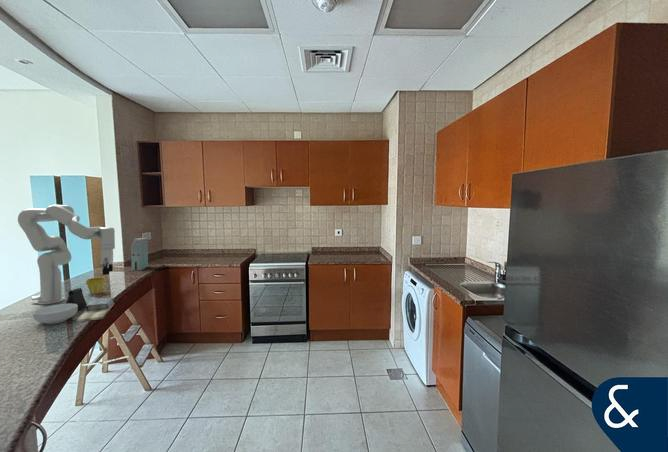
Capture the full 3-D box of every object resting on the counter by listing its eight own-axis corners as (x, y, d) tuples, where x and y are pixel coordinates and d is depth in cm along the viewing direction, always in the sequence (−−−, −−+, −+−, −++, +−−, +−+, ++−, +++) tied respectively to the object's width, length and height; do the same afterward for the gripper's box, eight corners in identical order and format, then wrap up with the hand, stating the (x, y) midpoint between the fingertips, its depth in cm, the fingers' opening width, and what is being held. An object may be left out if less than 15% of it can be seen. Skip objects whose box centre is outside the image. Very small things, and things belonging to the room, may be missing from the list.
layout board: (76, 321, 150) (76, 319, 149) (91, 306, 173) (91, 304, 173) (102, 318, 155) (102, 316, 154) (114, 304, 178) (114, 302, 178)
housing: (86, 310, 162) (86, 305, 162) (92, 304, 172) (92, 299, 172) (108, 308, 166) (107, 303, 166) (113, 302, 177) (112, 297, 177)
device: (139, 266, 287) (139, 237, 286) (148, 266, 289) (147, 237, 287) (131, 270, 271) (131, 239, 269) (140, 270, 273) (140, 239, 271)
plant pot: (101, 289, 207) (101, 276, 207) (108, 292, 202) (107, 278, 201) (83, 292, 198) (83, 279, 198) (89, 295, 193) (89, 281, 193)
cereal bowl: (74, 313, 162) (74, 301, 161) (80, 321, 151) (80, 308, 151) (31, 321, 148) (31, 308, 148) (34, 330, 138) (34, 316, 138)
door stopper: (63, 310, 164) (62, 290, 164) (72, 307, 170) (71, 287, 170) (79, 311, 165) (79, 290, 164) (87, 307, 171) (87, 288, 170)
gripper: (103, 245, 186) (103, 270, 187) (96, 248, 171) (96, 276, 172) (117, 244, 190) (117, 269, 191) (111, 248, 175) (112, 275, 176)
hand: (107, 272), depth 181 cm, fingers open, 9 cm apart
